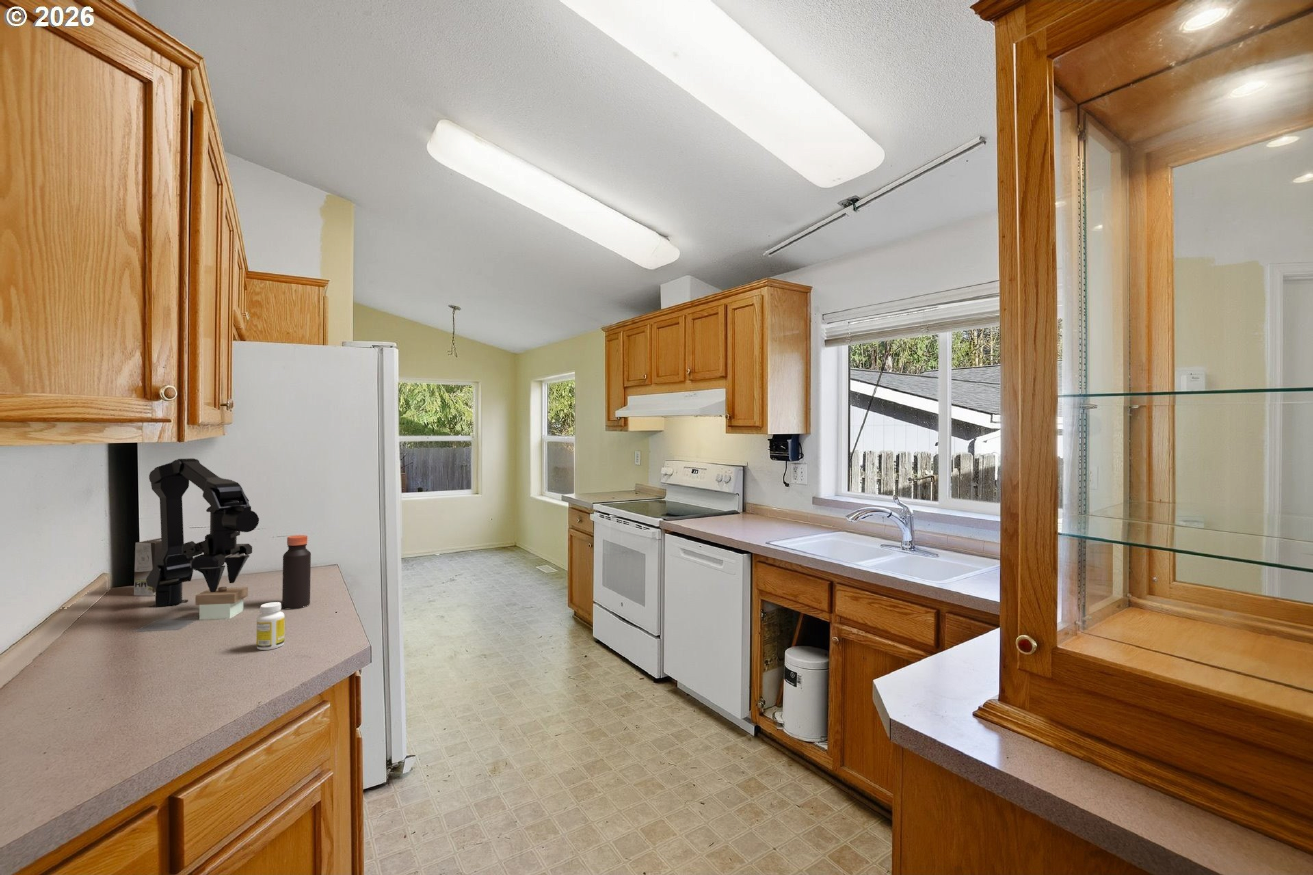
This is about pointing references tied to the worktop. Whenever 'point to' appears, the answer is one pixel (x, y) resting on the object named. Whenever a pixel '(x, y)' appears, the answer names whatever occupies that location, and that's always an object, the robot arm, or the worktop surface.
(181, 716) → the worktop surface
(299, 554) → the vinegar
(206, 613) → the pale green box
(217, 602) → the cover
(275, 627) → the supplement bottle
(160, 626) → the mat
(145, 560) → the coffee box
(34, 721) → the worktop surface
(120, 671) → the worktop surface
